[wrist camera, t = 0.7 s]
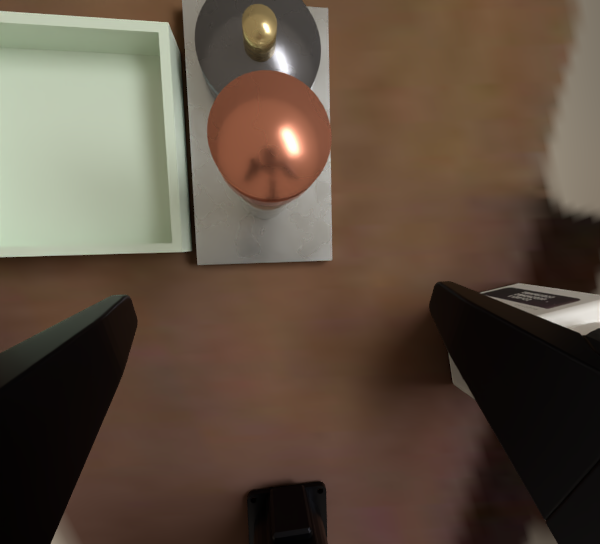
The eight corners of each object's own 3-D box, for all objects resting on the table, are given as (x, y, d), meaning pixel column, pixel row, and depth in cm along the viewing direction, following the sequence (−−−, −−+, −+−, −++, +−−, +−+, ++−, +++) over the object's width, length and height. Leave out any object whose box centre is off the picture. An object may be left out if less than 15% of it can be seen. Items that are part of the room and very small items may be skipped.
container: (438, 300, 26) (616, 355, 13) (519, 281, 27) (759, 315, 14) (451, 385, 27) (629, 514, 14) (528, 364, 28) (762, 467, 15)
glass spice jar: (293, 222, 23) (332, 198, 11) (236, 223, 22) (210, 199, 10) (291, 165, 22) (330, 73, 10) (233, 164, 22) (203, 66, 10)
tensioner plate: (329, 259, 24) (347, 263, 19) (200, 264, 23) (183, 269, 18) (324, 18, 23) (343, -45, 18) (185, 8, 21) (163, -64, 16)
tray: (192, 251, 23) (182, 251, 20) (-18, 257, 21) (-64, 259, 18) (180, 53, 21) (168, 22, 18) (-45, 40, 20) (-99, 4, 17)
